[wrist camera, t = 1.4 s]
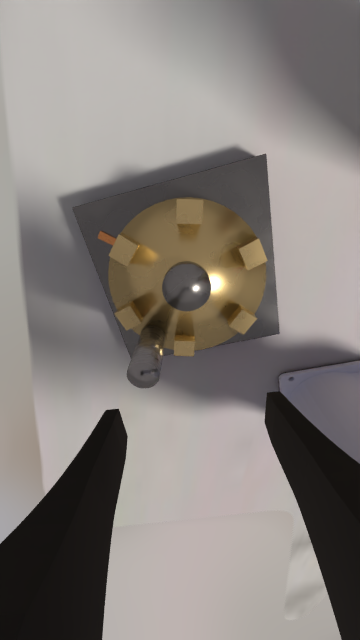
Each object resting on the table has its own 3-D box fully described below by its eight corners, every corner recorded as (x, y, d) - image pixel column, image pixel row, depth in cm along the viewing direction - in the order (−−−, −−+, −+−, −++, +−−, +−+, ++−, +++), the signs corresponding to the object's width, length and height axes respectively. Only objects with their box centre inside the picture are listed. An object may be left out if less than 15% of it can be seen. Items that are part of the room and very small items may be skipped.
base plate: (259, 157, 15) (266, 153, 14) (273, 325, 20) (280, 334, 19) (81, 207, 17) (71, 207, 15) (135, 351, 22) (132, 362, 20)
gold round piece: (159, 160, 14) (143, 137, 9) (291, 254, 16) (341, 280, 11) (89, 303, 18) (50, 345, 13) (203, 364, 20) (208, 420, 15)
